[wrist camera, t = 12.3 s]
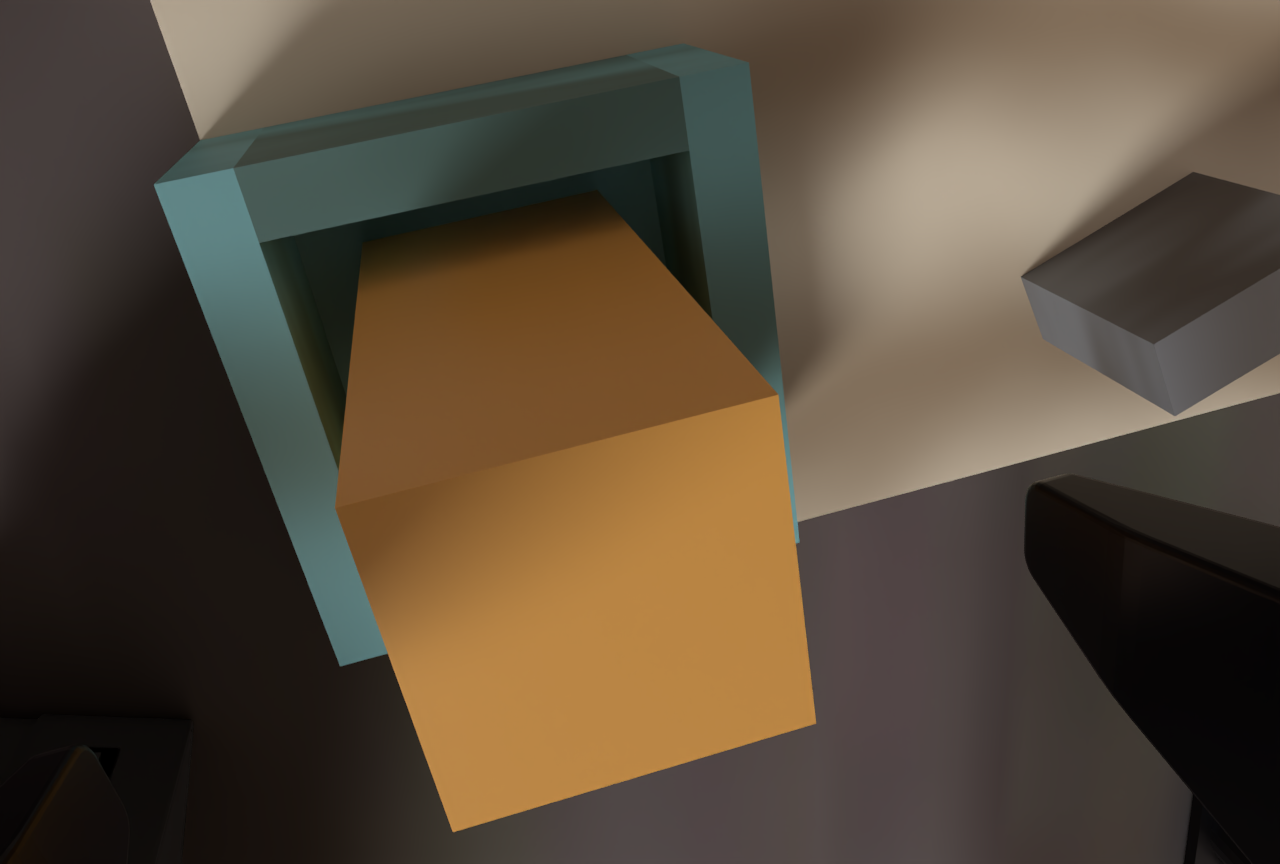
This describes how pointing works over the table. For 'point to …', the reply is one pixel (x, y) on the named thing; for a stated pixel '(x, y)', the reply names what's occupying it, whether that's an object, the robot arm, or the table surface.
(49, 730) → the game console
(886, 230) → the board
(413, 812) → the table surface
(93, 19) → the table surface
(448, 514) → the plug block
